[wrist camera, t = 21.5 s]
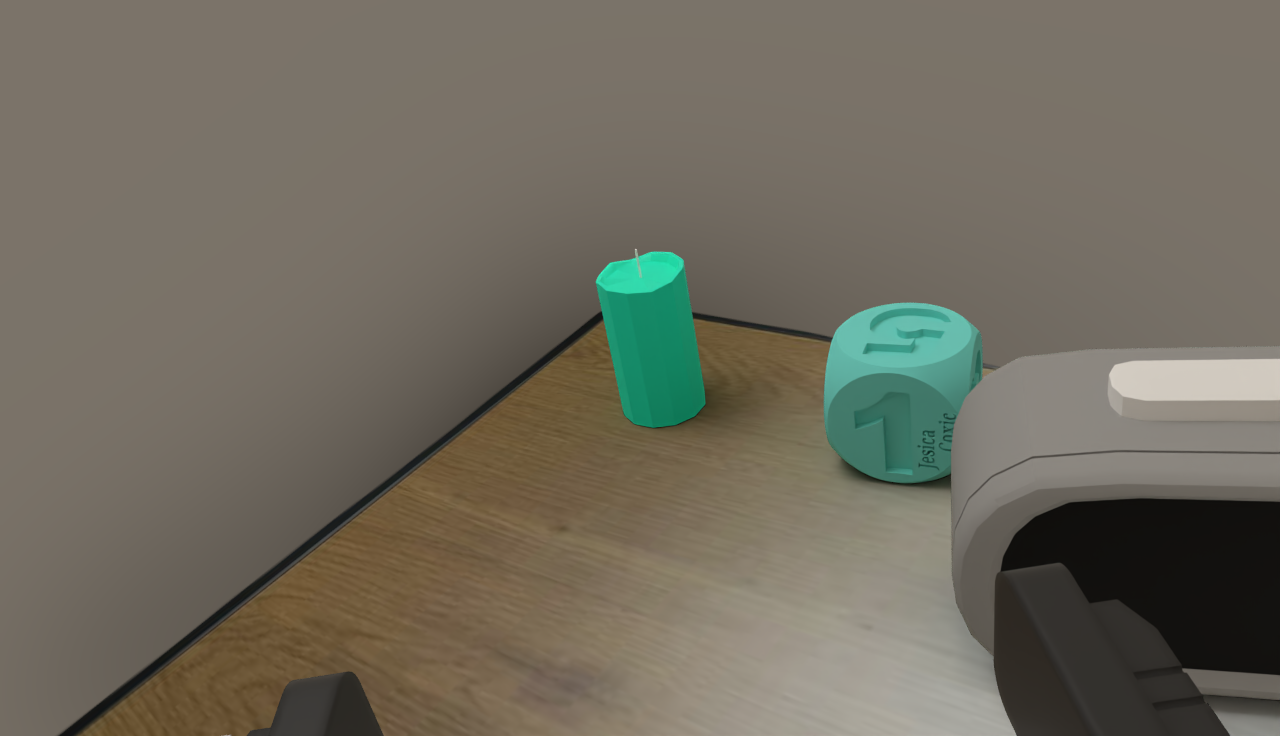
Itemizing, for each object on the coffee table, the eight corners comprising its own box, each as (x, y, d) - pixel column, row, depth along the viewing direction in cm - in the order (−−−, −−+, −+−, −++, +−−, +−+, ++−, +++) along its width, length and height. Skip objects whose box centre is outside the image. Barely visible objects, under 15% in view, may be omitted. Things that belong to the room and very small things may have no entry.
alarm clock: (953, 692, 45) (950, 454, 39) (952, 551, 53) (949, 332, 46) (1502, 737, 39) (1611, 462, 32) (1410, 570, 47) (1482, 321, 40)
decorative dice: (828, 477, 60) (818, 365, 56) (856, 405, 66) (849, 298, 62) (966, 492, 57) (966, 374, 53) (982, 414, 63) (983, 303, 59)
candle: (715, 381, 72) (691, 228, 66) (695, 428, 67) (667, 268, 61) (636, 380, 74) (607, 232, 68) (612, 426, 69) (577, 271, 63)
